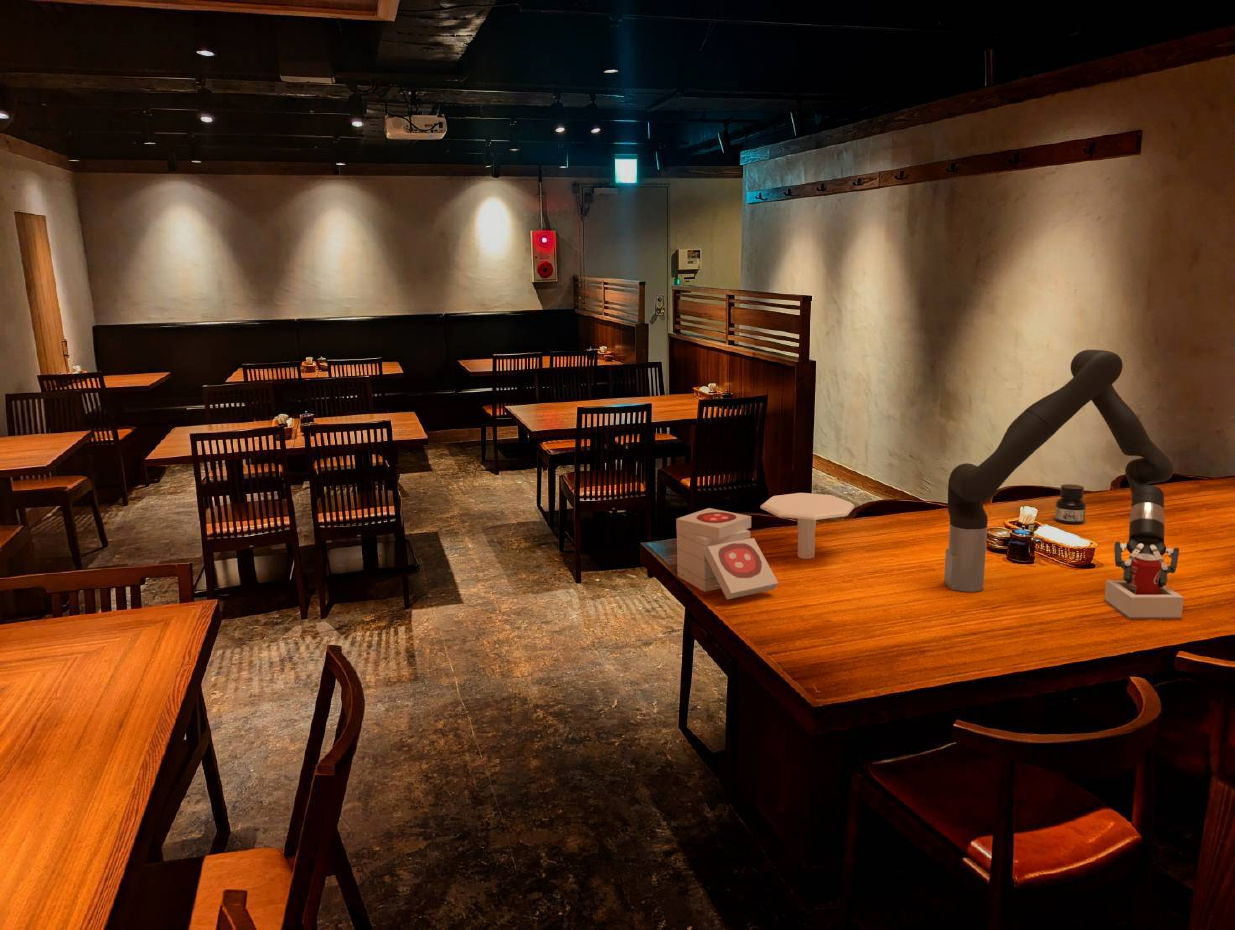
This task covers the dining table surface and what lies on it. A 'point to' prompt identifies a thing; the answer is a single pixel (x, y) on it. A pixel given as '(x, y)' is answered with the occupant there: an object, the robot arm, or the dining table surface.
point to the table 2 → (807, 514)
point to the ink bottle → (1070, 505)
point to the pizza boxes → (721, 554)
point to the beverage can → (1145, 575)
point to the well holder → (1143, 602)
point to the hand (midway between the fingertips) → (1144, 583)
